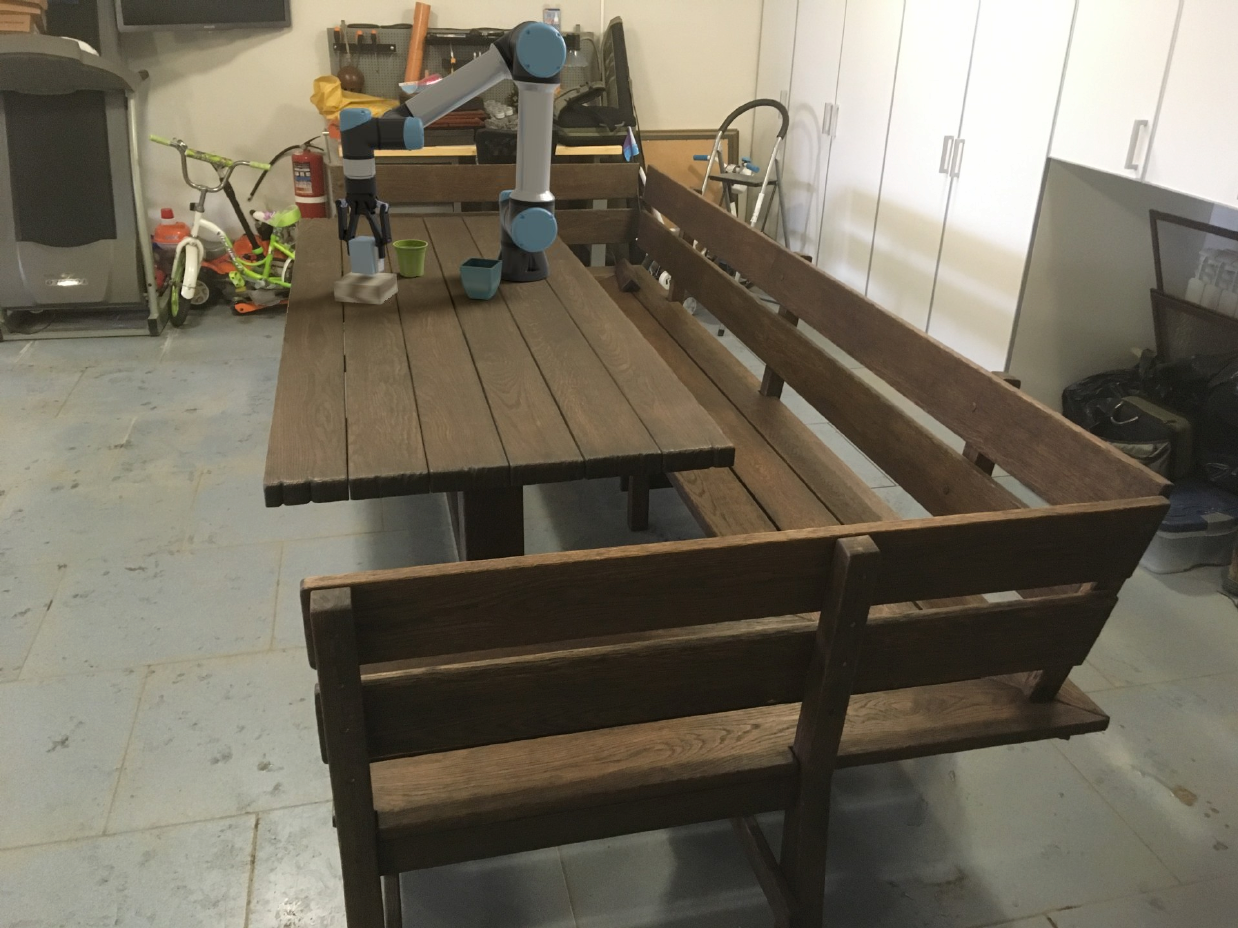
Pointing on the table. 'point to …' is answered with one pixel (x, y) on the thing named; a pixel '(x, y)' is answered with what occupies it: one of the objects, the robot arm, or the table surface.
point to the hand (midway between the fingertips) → (367, 269)
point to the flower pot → (480, 277)
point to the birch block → (365, 288)
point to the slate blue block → (363, 255)
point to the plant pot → (410, 257)
